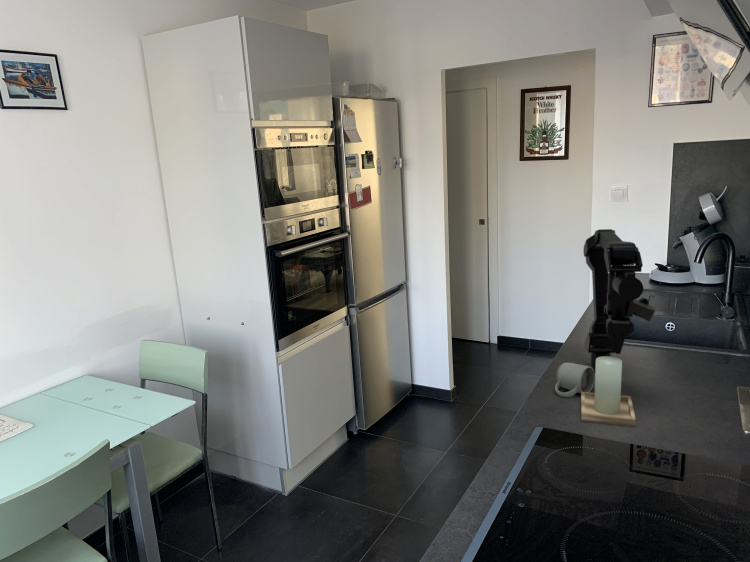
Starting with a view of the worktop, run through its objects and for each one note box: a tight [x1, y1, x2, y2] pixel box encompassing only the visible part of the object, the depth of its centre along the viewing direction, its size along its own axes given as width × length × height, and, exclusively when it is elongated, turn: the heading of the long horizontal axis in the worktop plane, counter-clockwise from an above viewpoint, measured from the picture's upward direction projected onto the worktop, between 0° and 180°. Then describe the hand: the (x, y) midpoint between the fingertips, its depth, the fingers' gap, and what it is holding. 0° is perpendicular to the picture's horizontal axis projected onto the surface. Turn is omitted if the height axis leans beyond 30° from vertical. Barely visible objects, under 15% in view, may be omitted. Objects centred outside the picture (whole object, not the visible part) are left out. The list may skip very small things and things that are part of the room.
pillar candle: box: [594, 356, 623, 415], centre depth 139 cm, size 6×6×13 cm
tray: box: [580, 392, 637, 428], centre depth 141 cm, size 14×12×2 cm
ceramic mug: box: [554, 362, 595, 398], centre depth 153 cm, size 11×8×8 cm
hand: (616, 348), depth 148 cm, fingers open, 9 cm apart
